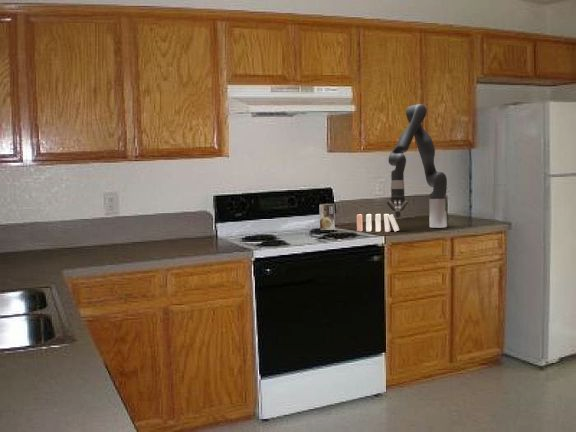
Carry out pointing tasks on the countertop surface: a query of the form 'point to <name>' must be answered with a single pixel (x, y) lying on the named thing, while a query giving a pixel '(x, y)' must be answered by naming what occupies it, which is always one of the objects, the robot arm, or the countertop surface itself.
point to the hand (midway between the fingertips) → (398, 217)
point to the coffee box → (327, 217)
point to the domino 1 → (359, 222)
